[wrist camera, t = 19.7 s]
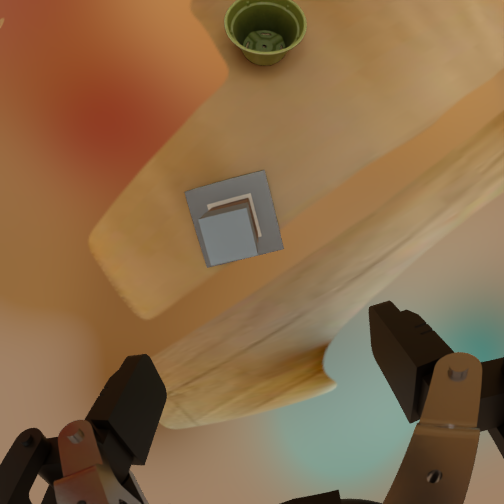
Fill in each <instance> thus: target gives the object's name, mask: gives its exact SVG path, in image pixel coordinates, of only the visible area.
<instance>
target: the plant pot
mask: <svg viewBox="0 0 504 504" xmlns="http://www.w3.org/2000/svg"><path fill="white" fill-rule="evenodd" d="M224 27H225V31H226V33H227V35H228V37H229V39H230V40H231V41H232V42H233V43H234V44H235V45H236V46H238V47H239V48H241V50H242V52H243V54H244V55H245V57H246V58H247V59H248V60H249V61H251V62H252V63H255V64H258V65H272V64H274V63H276V62H278V61H280V60H281V59H282V58H283V57H284V55H285V54H286V52H287V51H288V50H290V49H292V48H294V47H295V46H296V45H298V44H299V43H300V41H301V40H302V39H303V37H304V35H305V32H306V28H307V22H306V17H305V15H304V13H303V11H302V10H301V8H300V7H299V6H298V5H297V4H296V3H295V2H294V1H292V0H237V1H235V2H234V3H233V4H232V5H231V6H230V7H229V9H228V10H227V12H226V14H225V18H224ZM262 33H270V34H271V35H262ZM247 42H250V43H249V46H248V48H249V49H248V48H246V44H247ZM263 45H266V48H263ZM280 45H281V46H282V48H283V49H282V50H280V47H281V46H280Z"/></svg>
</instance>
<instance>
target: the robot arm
mask: <svg viewBox="0 0 504 504" xmlns="http://www.w3.org/2000/svg"><path fill="white" fill-rule="evenodd" d="M369 322H370V335H371V347H372V351H373V355H374V358H375V360H376V362H377V364H378V365H379V367H380V369H381V371H382V372H383V374H384V376H385V378H386V380H387V381H388V383H389V385H390V387H391V389H392V391H393V392H394V394H395V396H396V398H397V400H398V402H399V404H400V406H401V408H402V409H403V411H404V413H405V415H406V417H407V419H408V421H409V423H413V422H415V421H417V420H420V421H419V423H417V425H416V427H415V430H414V433H413V436H412V438H411V441H410V443H409V446H408V449H407V451H406V454H405V456H404V459H403V461H402V463H401V466H400V468H399V471H398V473H397V475H396V477H395V479H394V481H393V484H392V486H391V488H390V490H389V492H388V494H387V496H386V498H385V500H384V502H383V504H463V503H464V500H465V497H466V493H467V490H468V486H469V483H470V479H471V474H472V470H473V466H474V462H475V457H476V453H477V447H478V442H479V435H480V432H481V431H485V430H488V432H489V433H490V435H491V437H492V438H493V440H494V442H495V444H496V445H497V447H498V449H499V451H500V452H501V454H502V456H503V458H504V357H503V358H499V359H495V360H490V361H486V362H480V361H479V360H478V359H477V358H476V357H475V356H473V355H470V354H468V353H461V352H460V353H459V352H457V353H454V352H453V350H452V349H451V348H450V347H449V346H448V345H447V344H446V343H445V342H444V341H443V340H442V339H441V338H440V337H439V336H438V334H437V333H436V332H435V331H433V330H432V328H431V327H430V326H429V325H428V324H426V322H425V321H424V320H423V319H422V318H421V317H420V316H419V315H418V314H416V313H413V312H411V311H409V310H404V311H401V312H400V311H399V309H398V308H397V307H396V306H395V305H394V304H393V303H392V302H391V301H387V302H383V303H380V304H376V305H373V306H370V307H369ZM166 398H167V393H166V388H165V385H164V383H163V382H162V380H161V378H160V376H159V374H158V372H157V370H156V368H155V366H154V364H153V362H152V360H151V358H150V357H149V356H148V355H147V354H142V355H133V356H128V357H127V358H126V359H125V361H124V362H123V364H122V365H121V367H120V369H119V370H118V371H117V372H116V373H115V374H113V375H112V376H111V377H110V378H109V380H108V382H107V383H106V385H105V386H104V389H103V390H102V391H101V393H100V396H98V398H97V400H96V401H95V403H94V405H93V407H92V408H91V410H90V411H89V413H88V415H87V417H86V418H85V420H77V421H73V422H71V423H69V424H67V425H66V426H65V427H64V428H63V429H62V430H61V432H60V433H59V436H58V437H54V438H46V437H45V436H44V435H43V434H42V432H41V431H40V430H39V429H37V428H30V429H27V430H25V431H23V432H22V433H21V434H20V435H19V436H18V437H17V438H16V440H15V441H14V443H13V445H12V446H11V448H10V449H9V451H8V453H7V454H6V456H5V458H4V459H3V461H2V463H1V465H0V504H32V503H31V501H30V499H29V491H30V489H31V487H32V485H33V483H34V481H35V479H36V476H37V474H39V475H40V476H41V477H42V478H43V479H44V480H45V481H46V482H47V483H48V484H49V487H48V489H47V491H46V493H45V496H44V498H43V501H42V503H41V504H149V503H148V501H147V500H146V498H145V496H144V494H143V492H142V490H141V489H140V487H139V484H138V483H137V480H136V479H135V476H134V474H133V473H132V472H131V471H130V470H129V469H130V466H131V465H145V462H146V459H147V456H148V453H149V450H150V447H151V444H152V441H153V437H154V435H155V432H156V429H157V426H158V423H159V420H160V417H161V414H162V411H163V408H164V405H165V402H166ZM281 504H382V503H378V502H374V501H369V500H362V499H340V495H339V490H335V491H331V492H327V493H322V494H317V495H312V496H307V497H301V498H296V499H292V500H289V501H286V502H284V503H281Z"/></svg>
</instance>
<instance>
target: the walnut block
mask: <svg viewBox="0 0 504 504" xmlns="http://www.w3.org/2000/svg"><path fill="white" fill-rule="evenodd" d="M246 202H248V205H249V209H250V213H251V218H252V222H253V226H254V230H255V234H256V239H257V243H258V231H257V227H256V224H255V220H254V216H253V212H252V209H251V205H250V201H249V198H245V199H241V200H237V201H233V202H230V203H226V204H222V205H219V206H215V207H212V208H211V209H210V210H209V211H213V210H217V209H221V208H225V207H230V206H234V205H238V204H242V203H246ZM209 211H208V212H209Z"/></svg>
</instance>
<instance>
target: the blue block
mask: <svg viewBox="0 0 504 504" xmlns="http://www.w3.org/2000/svg"><path fill="white" fill-rule="evenodd" d="M198 220H199V224H200V228H201V232H202V235H203V239H204V242H205V246H206V250H207V253H208V257H209V260H210V264H211V266H212V265H217V264H221V263H226V262H230V261H235V260H239V259H244V258H248V257H253V256H257V255H258V243H257V239H256V234H255V230H254V226H253V222H252V218H251V213H250V209H249V205H248V202H246V203H242V204H238V205H234V206H230V207H225V208H221V209H217V210H213V211H209V212H206V213H205V214H204V215H203V216H202V217H200V218H199V219H198Z"/></svg>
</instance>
